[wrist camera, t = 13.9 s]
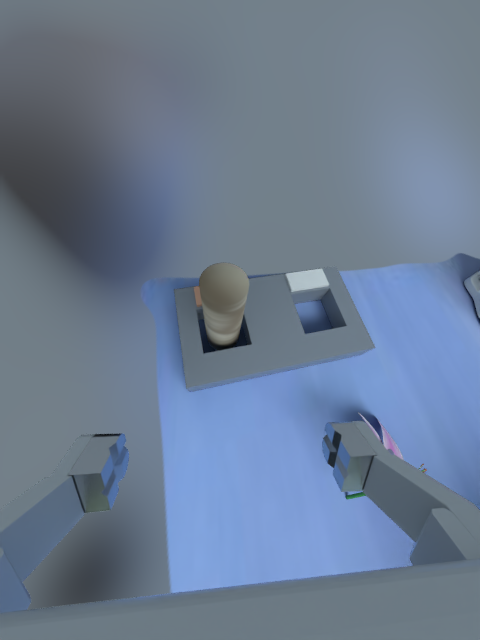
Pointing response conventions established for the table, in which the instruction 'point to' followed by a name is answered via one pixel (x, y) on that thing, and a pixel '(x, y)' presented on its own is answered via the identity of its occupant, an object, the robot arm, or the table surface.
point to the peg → (223, 303)
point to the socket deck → (273, 329)
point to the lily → (388, 444)
